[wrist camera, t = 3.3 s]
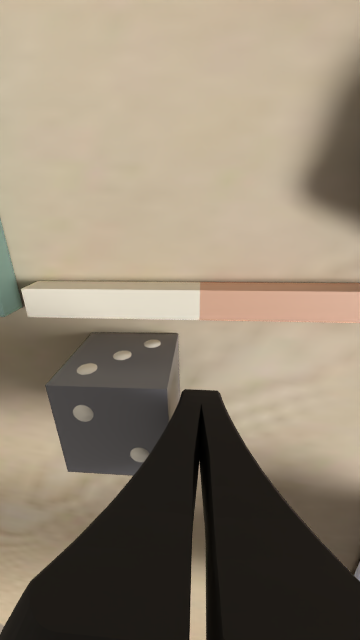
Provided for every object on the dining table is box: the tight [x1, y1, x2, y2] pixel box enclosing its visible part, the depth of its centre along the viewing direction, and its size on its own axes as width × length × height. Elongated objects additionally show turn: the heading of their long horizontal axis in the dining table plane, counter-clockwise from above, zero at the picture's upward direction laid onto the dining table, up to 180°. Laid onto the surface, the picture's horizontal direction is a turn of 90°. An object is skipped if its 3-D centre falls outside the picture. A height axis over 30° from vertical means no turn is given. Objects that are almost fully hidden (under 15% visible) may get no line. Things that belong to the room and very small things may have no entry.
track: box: [0, 219, 360, 323], centre depth 9 cm, size 12×23×1 cm, turn 91°
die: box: [45, 333, 180, 476], centre depth 11 cm, size 4×4×4 cm
